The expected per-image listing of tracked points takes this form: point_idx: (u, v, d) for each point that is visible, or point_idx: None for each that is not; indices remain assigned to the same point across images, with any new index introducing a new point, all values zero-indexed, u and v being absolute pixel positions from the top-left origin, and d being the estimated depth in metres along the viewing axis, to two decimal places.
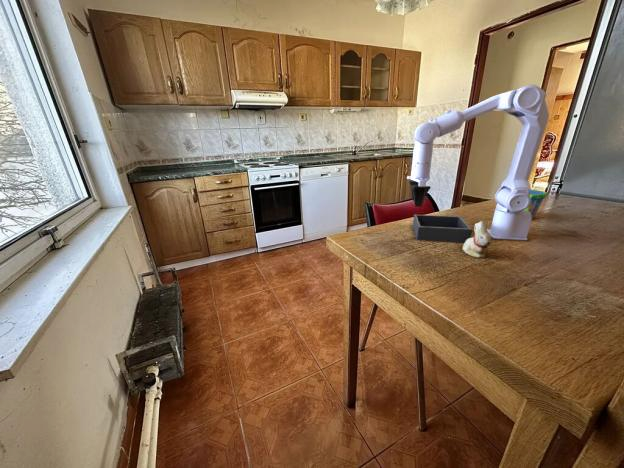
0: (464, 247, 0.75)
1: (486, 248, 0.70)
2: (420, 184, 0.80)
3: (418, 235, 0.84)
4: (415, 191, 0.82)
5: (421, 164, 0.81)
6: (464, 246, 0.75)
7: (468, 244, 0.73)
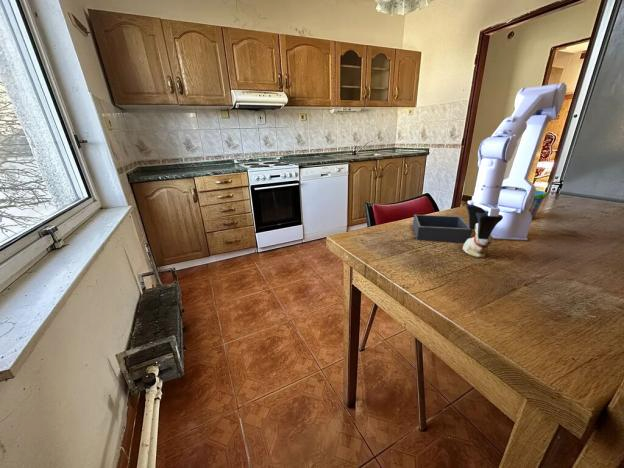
0: (464, 247, 0.75)
1: (486, 248, 0.70)
2: (491, 213, 0.63)
3: (418, 235, 0.84)
4: (482, 221, 0.66)
5: (490, 187, 0.65)
6: (464, 246, 0.75)
7: (468, 244, 0.73)
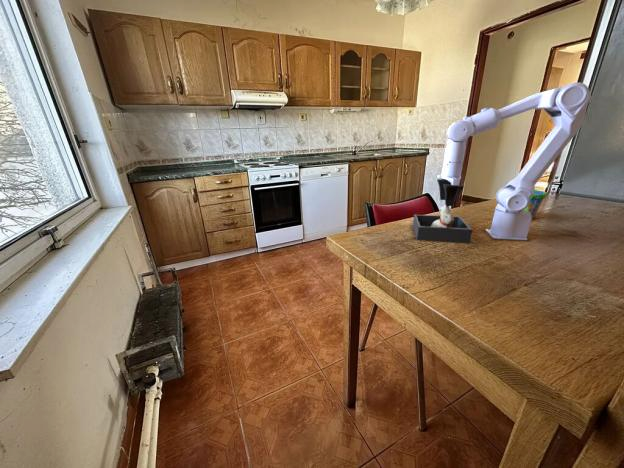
0: None
1: (450, 226, 0.83)
2: (453, 183, 0.78)
3: (418, 235, 0.84)
4: (447, 190, 0.81)
5: (454, 163, 0.80)
6: None
7: (435, 224, 0.86)
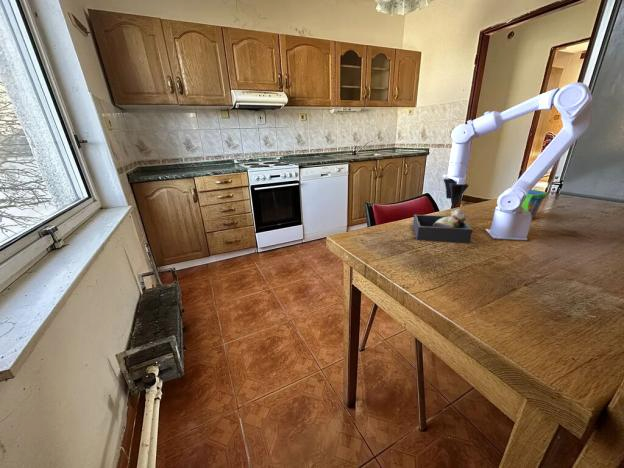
0: (439, 220, 0.88)
1: (458, 224, 0.85)
2: (459, 182, 0.84)
3: (418, 235, 0.84)
4: (453, 189, 0.86)
5: (459, 163, 0.86)
6: (439, 219, 0.88)
7: (446, 217, 0.87)
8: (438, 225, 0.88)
